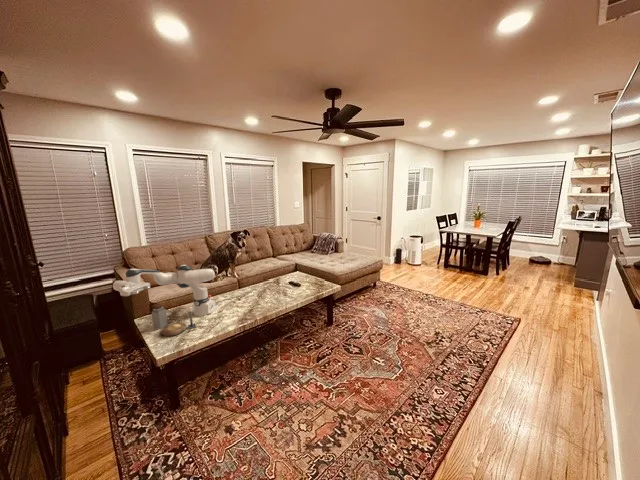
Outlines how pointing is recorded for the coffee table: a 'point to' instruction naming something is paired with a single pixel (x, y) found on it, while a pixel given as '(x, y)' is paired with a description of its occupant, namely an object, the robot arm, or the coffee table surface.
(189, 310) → the dial indicator
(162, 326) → the perfume bottle
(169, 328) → the turntable
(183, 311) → the coffee table surface
